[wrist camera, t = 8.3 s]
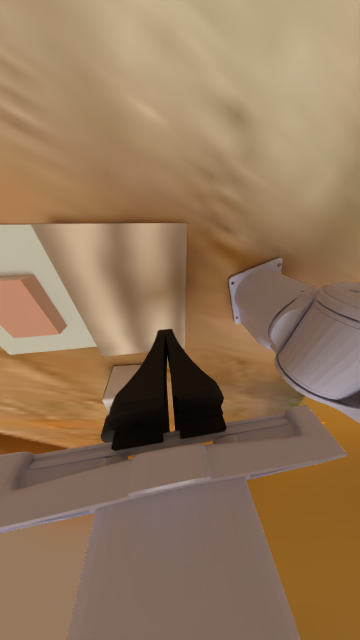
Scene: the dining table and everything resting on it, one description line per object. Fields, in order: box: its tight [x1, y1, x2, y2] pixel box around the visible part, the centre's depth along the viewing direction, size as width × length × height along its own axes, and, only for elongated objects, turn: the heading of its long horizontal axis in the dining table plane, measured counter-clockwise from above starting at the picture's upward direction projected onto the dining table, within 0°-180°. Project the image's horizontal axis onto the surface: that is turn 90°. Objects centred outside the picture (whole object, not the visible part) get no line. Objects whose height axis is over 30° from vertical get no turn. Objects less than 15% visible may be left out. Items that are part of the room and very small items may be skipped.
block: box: [0, 275, 67, 338], centre depth 17 cm, size 6×8×2 cm
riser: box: [31, 223, 187, 357], centre depth 19 cm, size 14×18×3 cm
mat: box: [0, 225, 97, 355], centre depth 18 cm, size 16×18×1 cm
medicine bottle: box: [101, 364, 142, 443], centre depth 26 cm, size 7×7×12 cm
